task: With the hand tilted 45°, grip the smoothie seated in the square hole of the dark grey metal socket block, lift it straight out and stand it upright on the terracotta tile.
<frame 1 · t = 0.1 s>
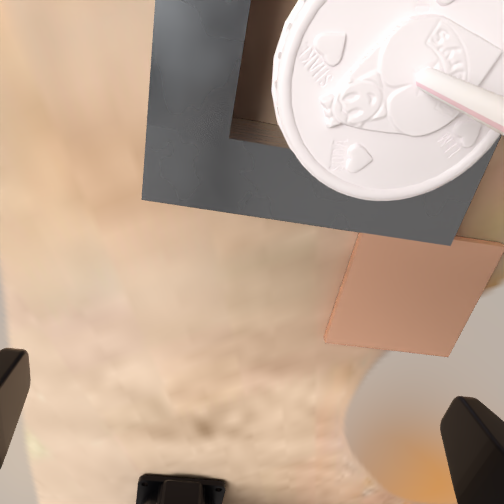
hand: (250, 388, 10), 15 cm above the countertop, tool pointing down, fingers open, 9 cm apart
socket block: (330, 43, 20), on the countertop
smoothie: (329, 43, 20), resting in socket block
tile: (407, 292, 27), on the countertop
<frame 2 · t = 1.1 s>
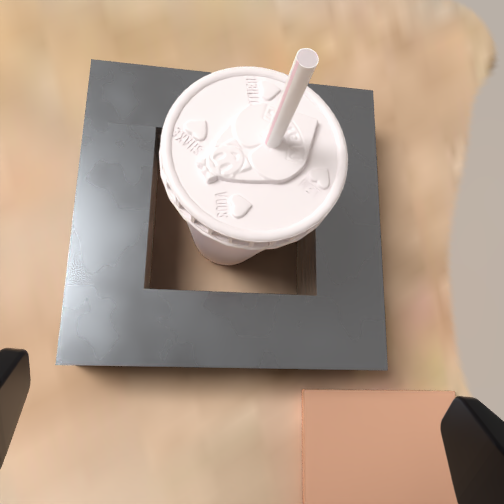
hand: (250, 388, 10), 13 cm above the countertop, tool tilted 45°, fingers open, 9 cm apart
socket block: (227, 231, 24), on the countertop
smoothie: (226, 232, 24), resting in socket block
tile: (381, 474, 22), on the countertop
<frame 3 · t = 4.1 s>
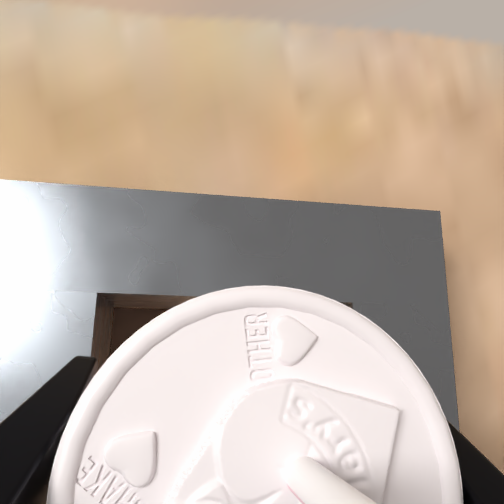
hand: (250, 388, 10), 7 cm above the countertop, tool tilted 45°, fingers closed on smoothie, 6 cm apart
socket block: (216, 419, 16), on the countertop
smoothie: (215, 419, 16), resting in socket block, touching gripper
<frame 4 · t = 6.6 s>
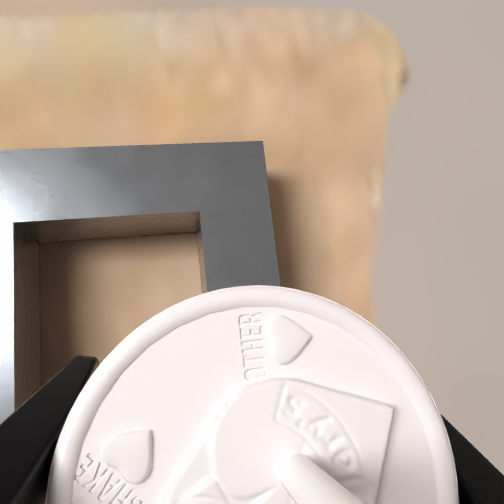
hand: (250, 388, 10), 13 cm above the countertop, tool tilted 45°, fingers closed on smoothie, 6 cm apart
socket block: (124, 313, 22), on the countertop
smoothie: (221, 416, 16), point 6 cm above the countertop, touching gripper
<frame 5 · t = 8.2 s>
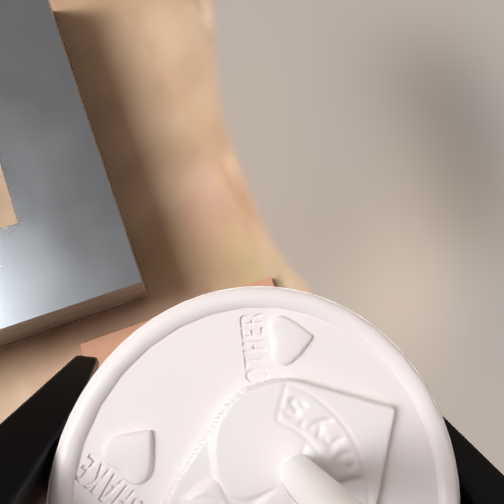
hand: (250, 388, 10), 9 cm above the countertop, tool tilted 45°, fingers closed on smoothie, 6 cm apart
smoothie: (222, 416, 16), point 2 cm above the countertop, touching gripper
tile: (212, 404, 18), on the countertop
when the fingers open (8 cm above the countertop, at t = 9.3 s): smoothie stays where it is, resting on tile.
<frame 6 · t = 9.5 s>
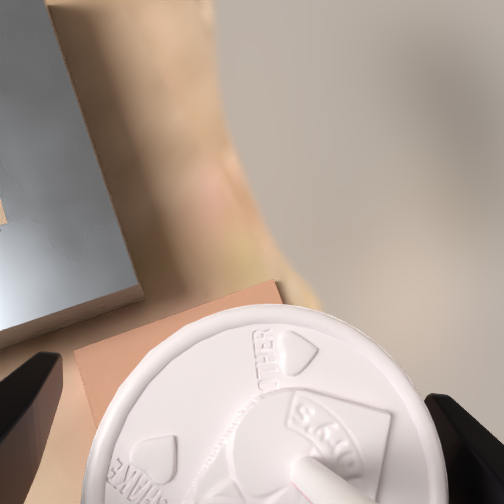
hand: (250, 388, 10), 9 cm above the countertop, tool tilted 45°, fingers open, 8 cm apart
smoothie: (221, 420, 17), resting on tile
tile: (212, 413, 17), on the countertop
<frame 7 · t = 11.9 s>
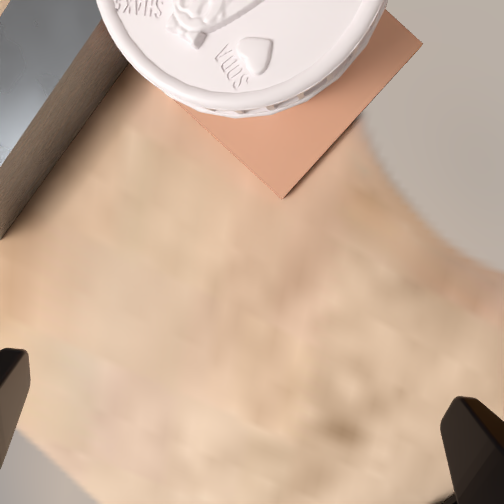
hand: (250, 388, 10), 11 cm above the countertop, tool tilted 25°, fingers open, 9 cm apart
smoothie: (285, 60, 19), resting on tile
tile: (277, 61, 19), on the countertop
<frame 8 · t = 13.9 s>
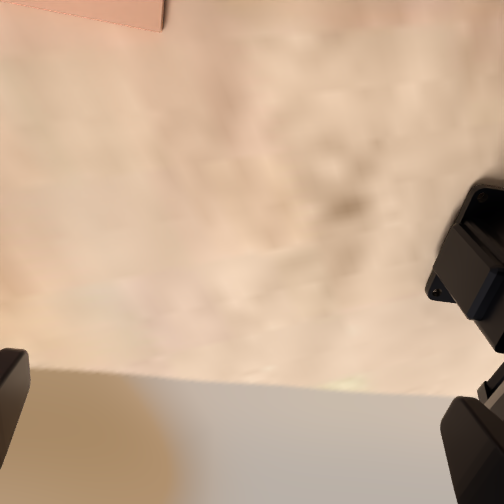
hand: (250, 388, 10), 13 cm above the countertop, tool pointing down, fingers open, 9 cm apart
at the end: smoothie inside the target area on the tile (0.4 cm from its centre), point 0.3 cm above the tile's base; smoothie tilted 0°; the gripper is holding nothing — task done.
